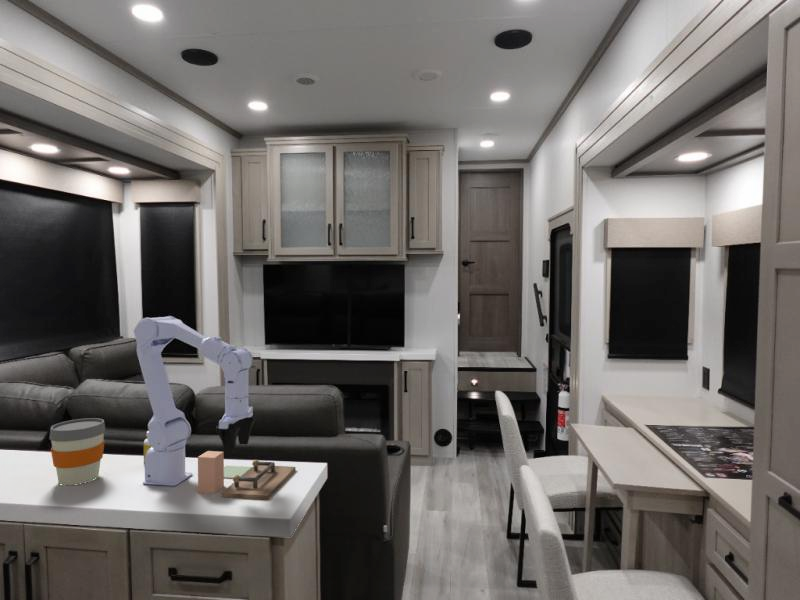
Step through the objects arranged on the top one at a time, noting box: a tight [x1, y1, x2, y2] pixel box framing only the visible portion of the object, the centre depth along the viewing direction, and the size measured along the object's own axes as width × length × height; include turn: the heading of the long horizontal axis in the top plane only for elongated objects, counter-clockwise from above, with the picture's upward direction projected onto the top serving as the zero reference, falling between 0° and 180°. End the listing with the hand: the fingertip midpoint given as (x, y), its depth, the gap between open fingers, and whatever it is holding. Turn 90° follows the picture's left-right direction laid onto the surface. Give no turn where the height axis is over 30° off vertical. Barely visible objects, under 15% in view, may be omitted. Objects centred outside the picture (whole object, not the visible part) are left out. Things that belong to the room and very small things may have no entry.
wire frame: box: [220, 459, 296, 501], centre depth 126 cm, size 12×19×4 cm, turn 172°
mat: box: [224, 465, 253, 480], centre depth 133 cm, size 8×8×1 cm
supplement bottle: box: [143, 430, 151, 467], centre depth 139 cm, size 5×5×10 cm
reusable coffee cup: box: [49, 417, 106, 486], centre depth 128 cm, size 12×13×15 cm
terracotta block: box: [197, 450, 225, 494], centre depth 122 cm, size 4×4×9 cm
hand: (236, 448), depth 122 cm, fingers open, 7 cm apart
